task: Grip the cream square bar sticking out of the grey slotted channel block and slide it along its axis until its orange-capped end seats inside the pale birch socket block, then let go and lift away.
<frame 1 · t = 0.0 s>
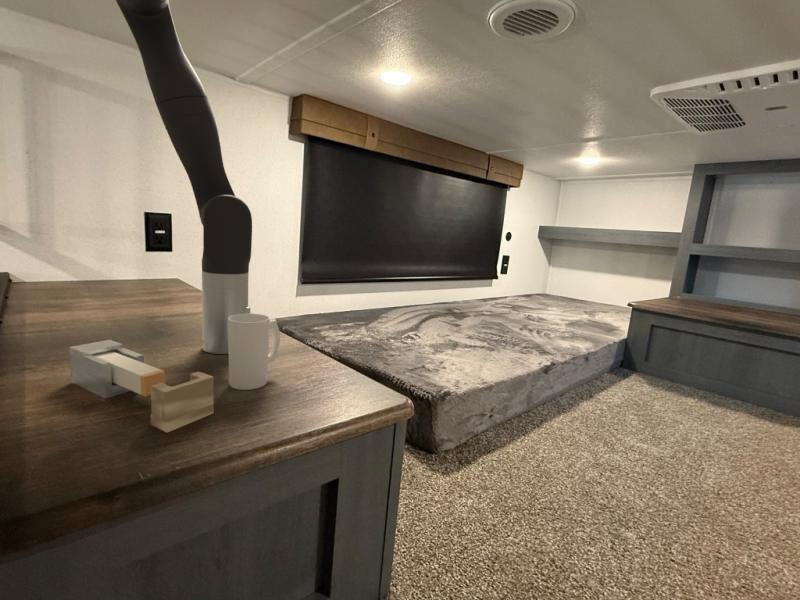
cream square bar: (121, 369, 62), point 4 cm above the cabinet, slide at 0.0 cm
grey slotted channel block: (108, 384, 64), on the cabinet
socket: (183, 418, 55), on the cabinet
mug: (256, 381, 71), on the cabinet
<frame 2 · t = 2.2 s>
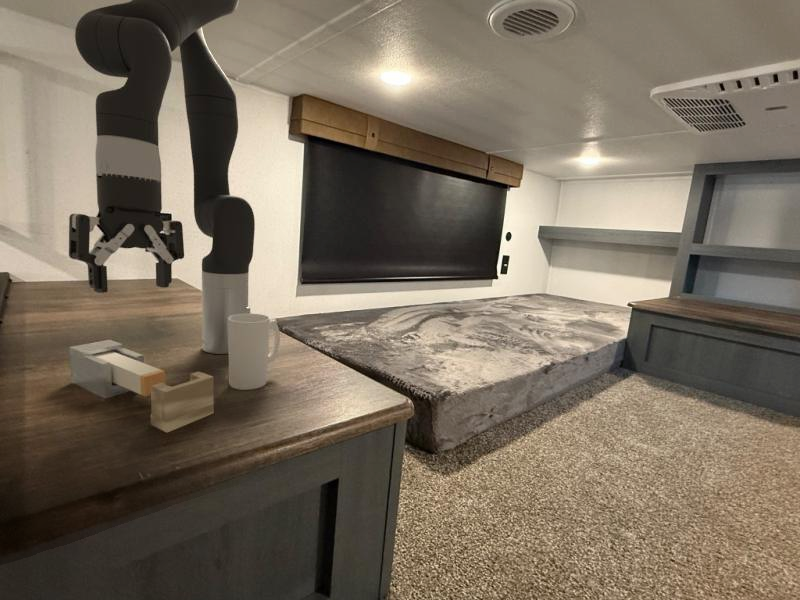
hand: (133, 289, 57), 17 cm above the cabinet, fingers open, 8 cm apart
nothing on the cabinet moved.
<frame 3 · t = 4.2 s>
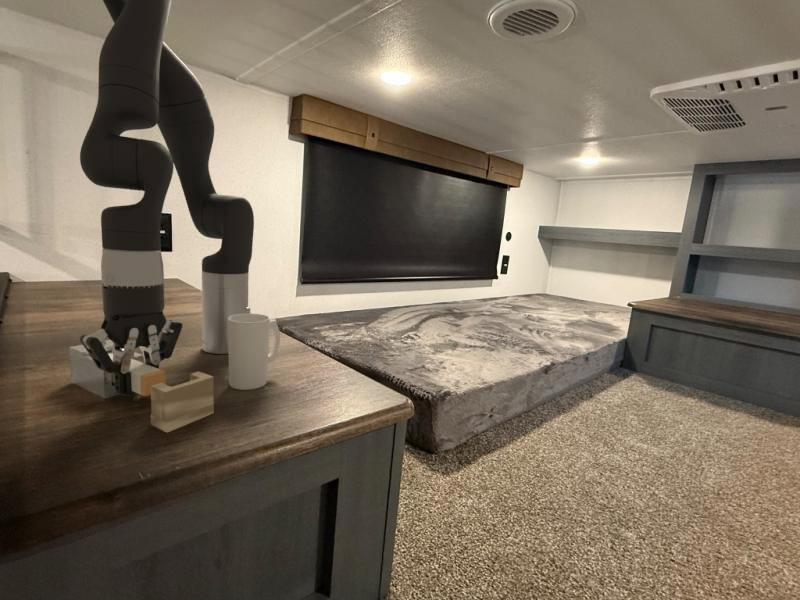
hand: (137, 390, 60), 1 cm above the cabinet, fingers closed on cream square bar, 3 cm apart
cream square bar: (121, 369, 62), point 4 cm above the cabinet, slide at 0.0 cm, touching gripper
everything else where it was.
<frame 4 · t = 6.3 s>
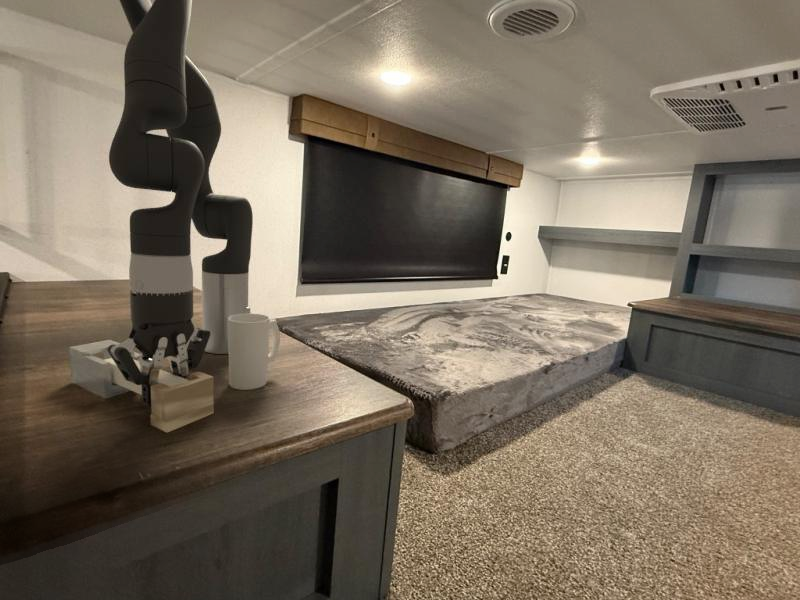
hand: (165, 402, 57), 1 cm above the cabinet, fingers closed on cream square bar, 3 cm apart
cream square bar: (146, 380, 59), point 4 cm above the cabinet, slide at 6.9 cm, touching gripper
everything else where it was.
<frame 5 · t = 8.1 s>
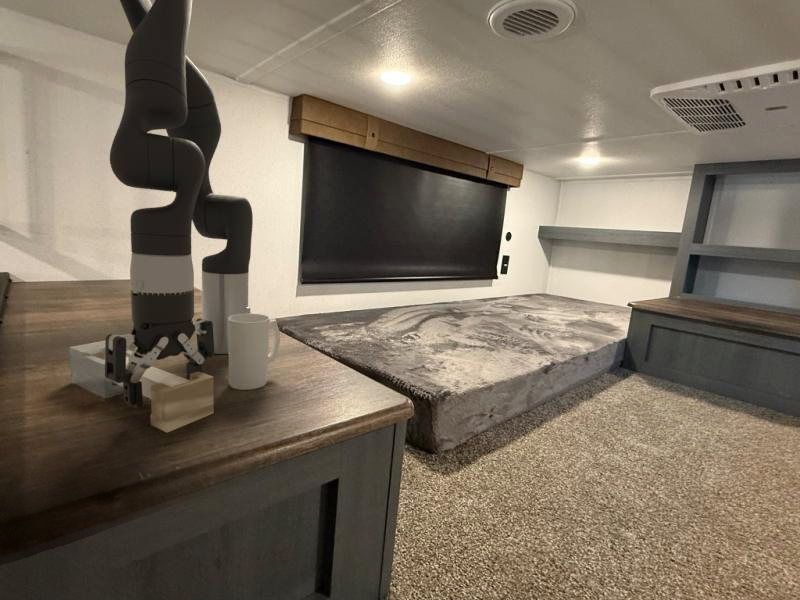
hand: (166, 395, 57), 2 cm above the cabinet, fingers open, 8 cm apart
cream square bar: (147, 380, 58), point 4 cm above the cabinet, slide at 6.9 cm
everything else where it was.
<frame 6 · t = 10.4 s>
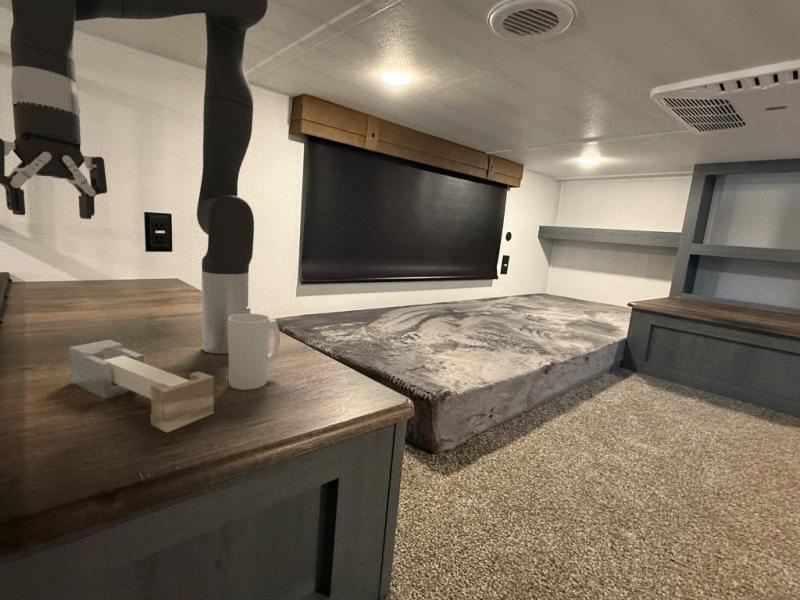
hand: (54, 216, 61), 27 cm above the cabinet, fingers open, 8 cm apart
nothing on the cabinet moved.
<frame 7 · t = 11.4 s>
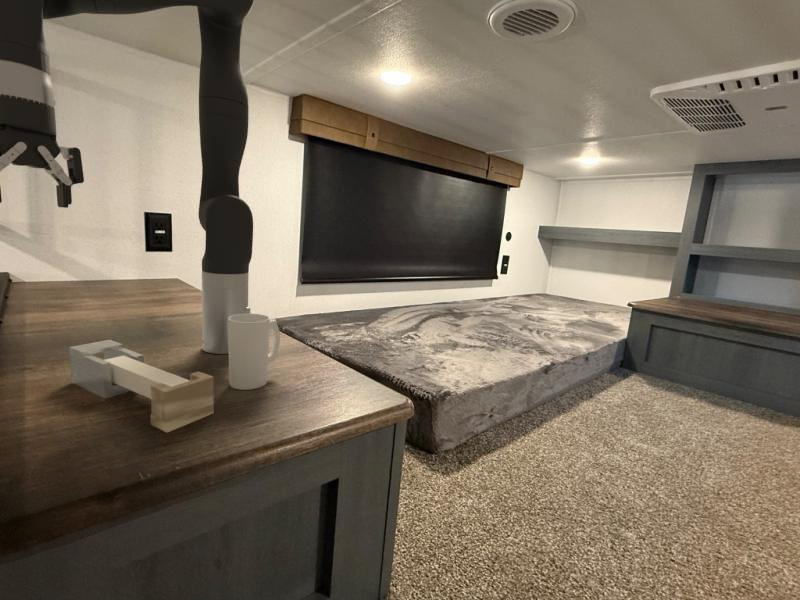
hand: (31, 205, 64), 28 cm above the cabinet, fingers open, 8 cm apart
nothing on the cabinet moved.
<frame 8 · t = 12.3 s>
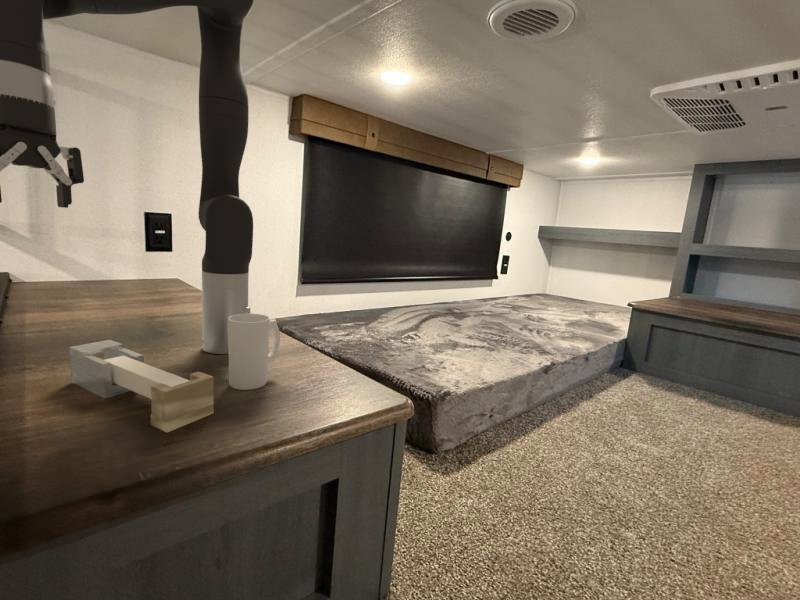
hand: (31, 205, 64), 28 cm above the cabinet, fingers open, 8 cm apart
nothing on the cabinet moved.
at the end: cream square bar slide at 6.9 cm; the gripper is holding nothing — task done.
